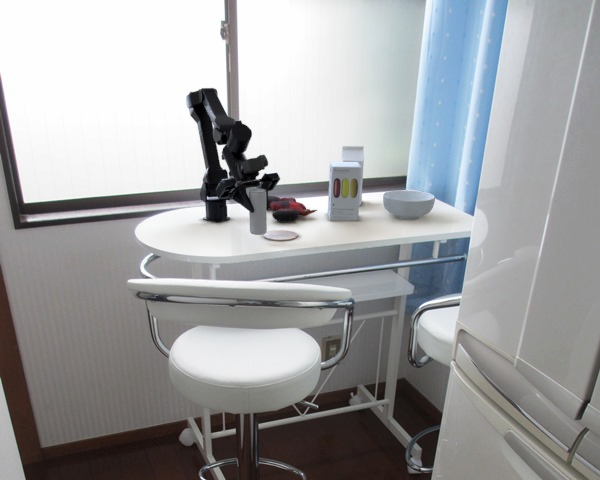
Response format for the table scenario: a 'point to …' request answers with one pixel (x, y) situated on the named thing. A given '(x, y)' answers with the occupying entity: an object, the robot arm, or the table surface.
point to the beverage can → (258, 211)
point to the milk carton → (354, 160)
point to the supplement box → (344, 191)
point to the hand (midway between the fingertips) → (260, 210)
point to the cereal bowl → (408, 203)
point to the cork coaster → (280, 235)
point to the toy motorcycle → (287, 209)
